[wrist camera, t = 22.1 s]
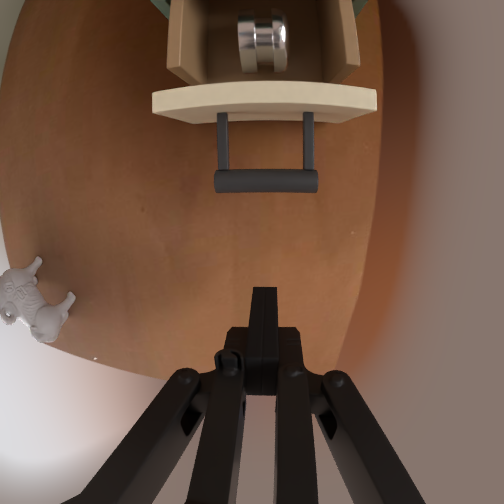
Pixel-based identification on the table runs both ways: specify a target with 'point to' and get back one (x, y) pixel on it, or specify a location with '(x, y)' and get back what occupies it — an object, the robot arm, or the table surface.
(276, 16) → the metal grooved wheel
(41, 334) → the dog figurine
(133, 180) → the table surface
